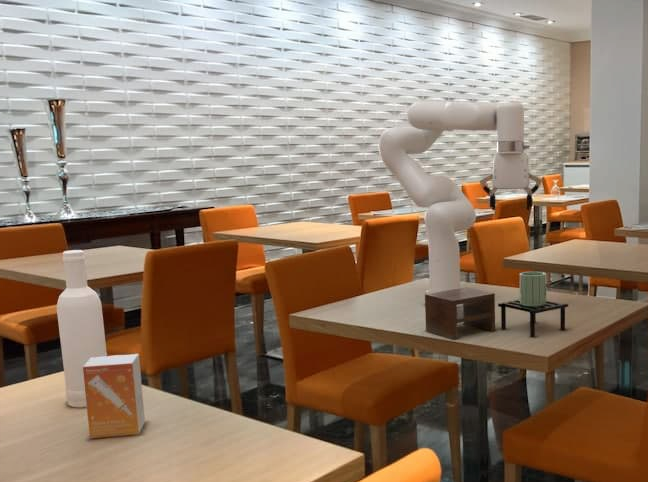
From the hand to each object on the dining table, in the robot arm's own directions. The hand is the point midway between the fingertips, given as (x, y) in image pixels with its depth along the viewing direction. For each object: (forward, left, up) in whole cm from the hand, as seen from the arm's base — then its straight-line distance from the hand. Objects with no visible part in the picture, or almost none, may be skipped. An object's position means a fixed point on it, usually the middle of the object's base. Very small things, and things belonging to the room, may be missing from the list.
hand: (510, 209), depth 211 cm
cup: (+17, -8, -23) cm, 30 cm away
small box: (+21, -113, -31) cm, 119 cm away
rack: (+17, -8, -30) cm, 36 cm away
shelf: (+5, -23, -30) cm, 38 cm away
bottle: (0, -113, -31) cm, 117 cm away
